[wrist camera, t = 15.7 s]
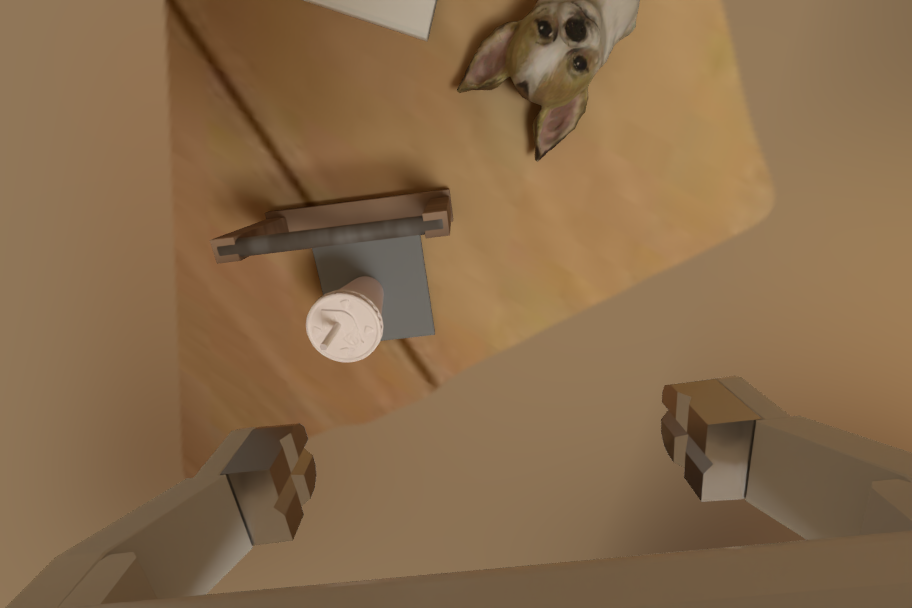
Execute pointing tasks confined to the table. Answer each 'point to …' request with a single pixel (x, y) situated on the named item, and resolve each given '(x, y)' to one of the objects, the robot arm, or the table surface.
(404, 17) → the external hard drive
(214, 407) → the table surface
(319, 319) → the smoothie
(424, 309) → the mat
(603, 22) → the ceramic sculpture
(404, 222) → the bar hurdle
